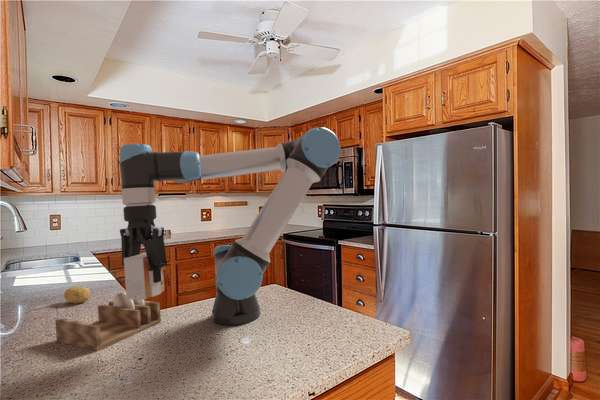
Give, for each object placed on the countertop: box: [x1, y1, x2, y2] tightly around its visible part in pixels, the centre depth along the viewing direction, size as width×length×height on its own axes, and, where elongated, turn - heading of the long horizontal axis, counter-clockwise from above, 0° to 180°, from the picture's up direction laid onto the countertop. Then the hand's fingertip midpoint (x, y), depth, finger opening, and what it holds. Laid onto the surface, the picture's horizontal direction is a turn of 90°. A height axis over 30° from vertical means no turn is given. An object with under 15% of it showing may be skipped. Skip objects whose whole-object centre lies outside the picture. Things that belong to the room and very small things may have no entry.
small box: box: [123, 252, 165, 300], centre depth 84 cm, size 8×6×10 cm
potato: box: [63, 286, 91, 304], centre depth 127 cm, size 7×11×6 cm, turn 64°
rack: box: [55, 292, 162, 352], centre depth 96 cm, size 18×20×10 cm
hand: (146, 293), depth 84 cm, fingers closed on small box, 6 cm apart
